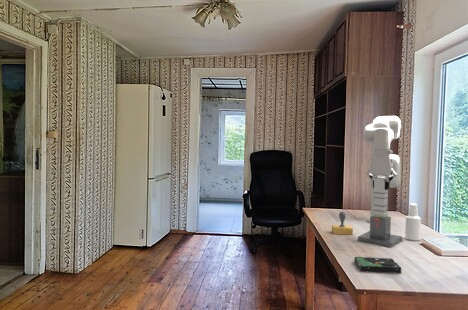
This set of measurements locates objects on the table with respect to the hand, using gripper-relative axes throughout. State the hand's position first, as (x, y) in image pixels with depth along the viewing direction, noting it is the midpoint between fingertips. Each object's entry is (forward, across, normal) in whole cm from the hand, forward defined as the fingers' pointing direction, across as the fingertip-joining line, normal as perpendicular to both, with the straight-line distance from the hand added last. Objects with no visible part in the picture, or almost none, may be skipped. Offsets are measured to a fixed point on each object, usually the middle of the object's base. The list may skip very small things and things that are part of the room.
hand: (380, 188), depth 164 cm
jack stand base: (+26, 0, 0) cm, 26 cm away
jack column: (+17, 0, 0) cm, 17 cm away
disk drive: (+27, -12, +39) cm, 49 cm away
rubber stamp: (+27, +20, 0) cm, 33 cm away
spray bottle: (+26, -11, -15) cm, 32 cm away
